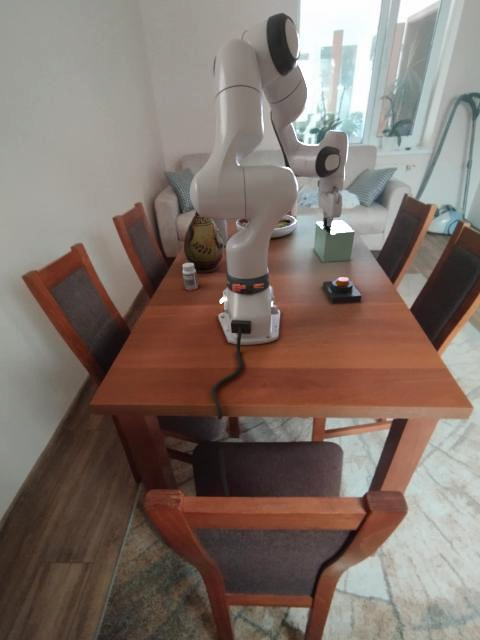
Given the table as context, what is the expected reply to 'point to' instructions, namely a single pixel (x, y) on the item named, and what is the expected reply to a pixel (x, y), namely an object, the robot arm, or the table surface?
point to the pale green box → (334, 241)
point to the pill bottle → (190, 276)
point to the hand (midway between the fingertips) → (327, 224)
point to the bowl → (281, 229)
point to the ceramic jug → (203, 244)
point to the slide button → (325, 222)
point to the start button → (342, 281)
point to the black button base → (341, 292)
